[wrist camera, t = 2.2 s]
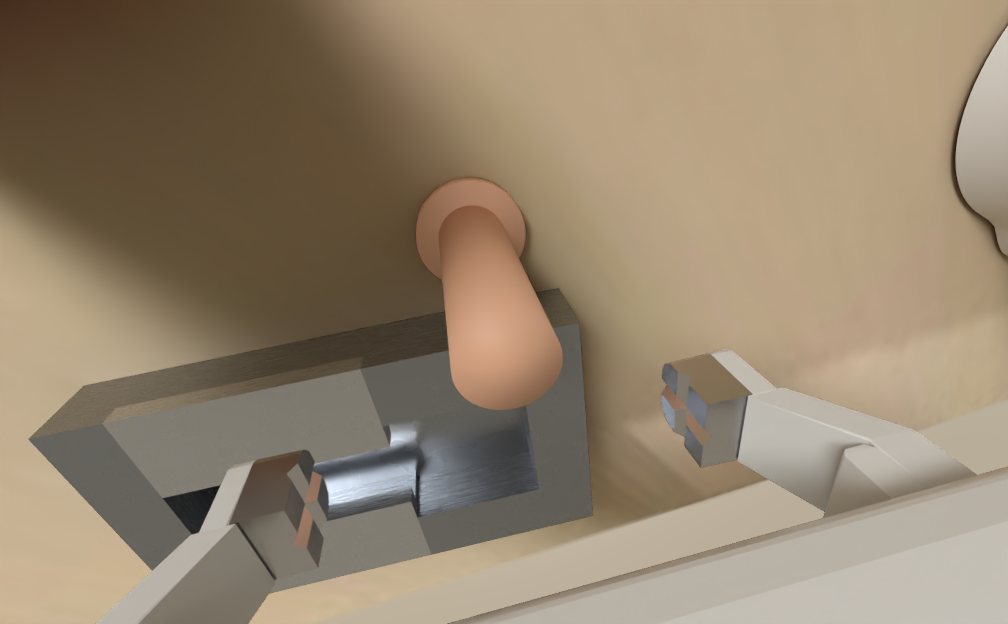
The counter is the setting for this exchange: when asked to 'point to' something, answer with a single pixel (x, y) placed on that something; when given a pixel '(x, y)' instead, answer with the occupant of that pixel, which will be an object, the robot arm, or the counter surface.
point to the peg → (487, 295)
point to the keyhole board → (421, 455)
